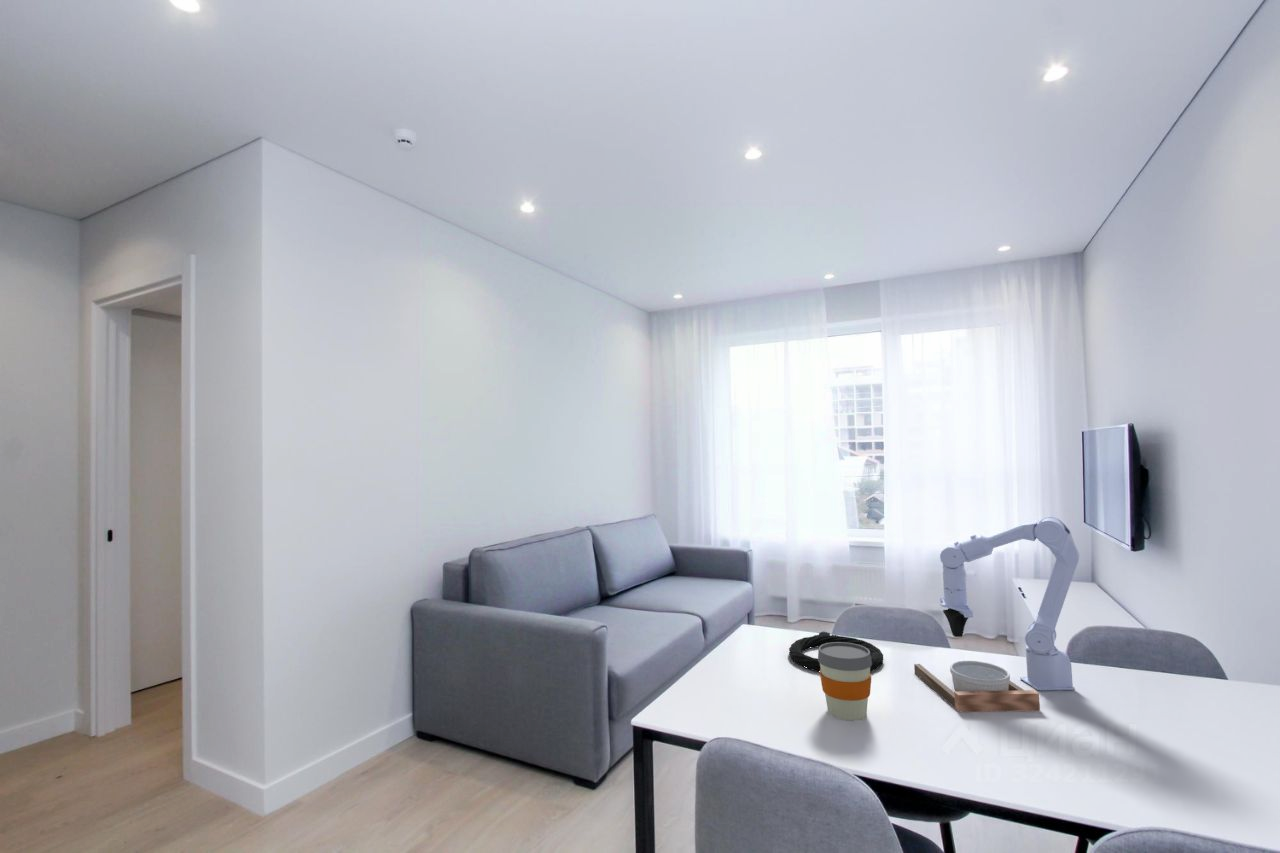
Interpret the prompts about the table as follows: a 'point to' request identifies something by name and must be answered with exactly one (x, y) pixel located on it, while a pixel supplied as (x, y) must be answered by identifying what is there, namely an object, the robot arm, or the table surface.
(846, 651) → the reusable coffee cup
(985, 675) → the ramekin
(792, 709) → the table surface
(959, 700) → the wooden serving tray
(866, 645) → the cable lock
